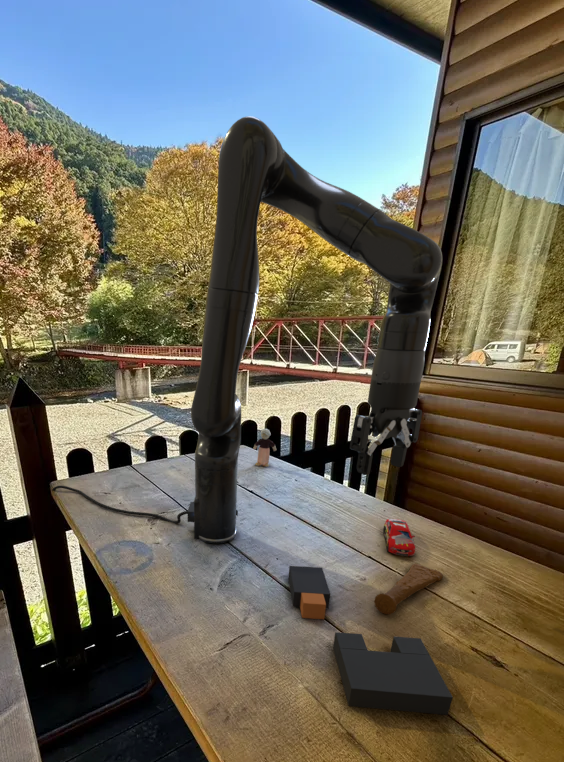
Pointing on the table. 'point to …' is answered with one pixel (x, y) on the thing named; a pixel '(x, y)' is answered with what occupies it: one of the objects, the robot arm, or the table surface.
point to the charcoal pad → (309, 591)
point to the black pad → (391, 676)
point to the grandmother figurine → (264, 448)
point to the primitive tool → (406, 587)
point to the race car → (398, 537)
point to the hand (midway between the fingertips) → (380, 469)
